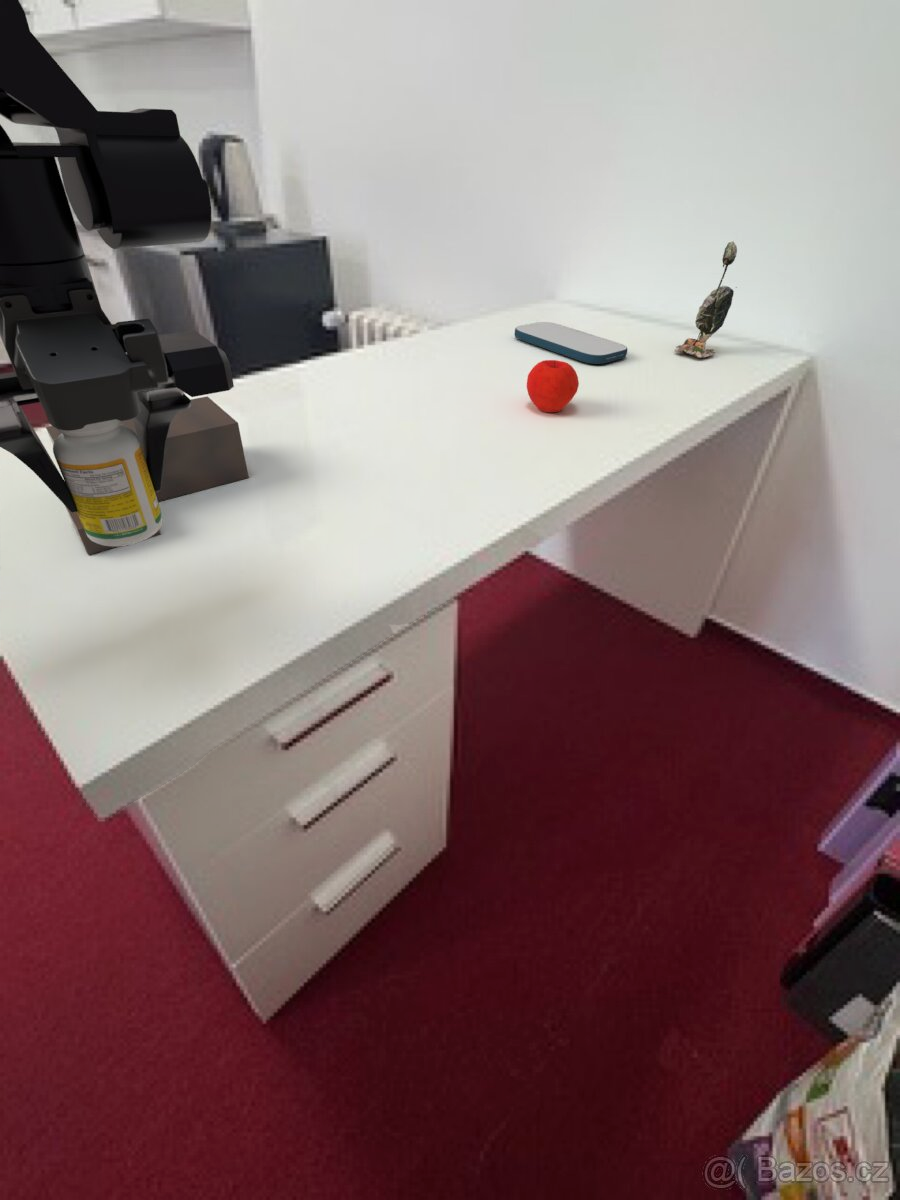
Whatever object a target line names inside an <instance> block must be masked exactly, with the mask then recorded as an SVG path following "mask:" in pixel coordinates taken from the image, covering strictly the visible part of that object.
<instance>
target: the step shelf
mask: <svg viewBox="0 0 900 1200" xmlns="http://www.w3.org/2000/svg"><path fill="white" fill-rule="evenodd" d="M190 400H191V406H190V408H188V409H186V410H181V411H179V412H178V413H177V414H176V416H175V417H174V419H173V420H172V422H171V424H170V427H169V431H168V435H167V439H166V444H165V453H164V463H163V473H162V483H161V490H160V491H158V492H155V494H156V497H157V501H158V503H159V502H164V501H166V500H170V499H175V498H178V497H183V496H185V495H189V494H193V493H197V492H201V491H205V490H209V489H211V488H215V487H219V486H223V485H226V484H230V483H235V482H237V481H241V480H246V479H249V478H250V476H249V471H248V467H247V461H246V457H245V452H244V446H243V445H244V444H243V441H242V436H241V431H240V426H239V422H238V421H236V419H235V418H233V417H232V416H231V415H230V414H228V412H227V411H225V410H224V409H223V408H222V407H221V406H219V404H217V403H216V402H215V401H214V400H213V399H211V398H210V397H209V396H208V395H207V396H201V397H196V398H191V399H190ZM120 424H121V425H124V426H126V427H128V428H130V429H131V430H133V431H134V432H135V433H136V428H135V424H134V419H130V420H125V421H121V423H120ZM45 429H46V431H47V434H48V437H49V439H50V442H51V443H52V445H53V444H54V442H55V440H56V438H57V437H58V436H59V435H60V434H62V433H60V432H59V431H58V430H57V429H56V428H55V427H53V426H52V425H48V426H45ZM136 435H137V433H136ZM64 507H65V509H66V512H67V514H68V517H69V518H70V521H71V523H72V526H73V527H74V530H75V532H76V534H77V536H78V538H79V540H80V542H81V544H82V546H83V548H84V550H85V552H86V554H87V555H88V556H90V555H93V554H97V553H101V552H105V551H107V550H108V551H109V550H111V549H114V548H118V547H119V546H104V545H100V544H97V543H95V542H93V541H91V540H90V539H89V538H88V536H87V534H86V532H85V530H84V527H83V525H82V522H81V520H80V518H79V515H78V513H77V512H75V513H72V512H71V511H70V510H69V509H68V508H67V507H66V506H65V505H64ZM158 535H161V530H160V529H159V530H158V531H157V532H156V533H155V534H154V535H152V536H151V537H150V538H152V537H155V536H158Z"/></svg>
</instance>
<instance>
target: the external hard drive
mask: <svg viewBox="0 0 900 1200" xmlns="http://www.w3.org/2000/svg"><path fill="white" fill-rule="evenodd" d="M514 337H515V338H516V339H518V340H520V341H522V342H525V343H528V344H531V345H534V346H537V347H540V348H543V349H545V350H548V351H551V352H553V353H557V354H559V355H562V356H565V357H567V358H571V359H574V360H577V361H580V362H582V363H586V364H592V365H602V364H607V363H611V362H615V361H619V360H623V359H624V358H626V357H627V354H628V347H627V346H626V345H625V344H622V343H620V342H616V341H614V340H610V339H608V338H604V337H601V336H598V335H594V334H592V333H588V332H585V331H582V330H578V329H575V328H573V327H569V326H565V325H564V324H563V325H562V324H560V323H555V322H550V321H537V322H533V323H529V324H528V323H527V324H522V325H518V326H516V327H515V328H514Z"/></svg>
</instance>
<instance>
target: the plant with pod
mask: <svg viewBox="0 0 900 1200" xmlns="http://www.w3.org/2000/svg"><path fill="white" fill-rule="evenodd" d="M737 254H738V248H737V245H736V243H735V242H734V240H733V241H730V242H728V243H727V244H726V246H725V247H724V251H723V254H722V259H721V261H722V268H724V270H723V272H722V276H721V278H720V281H719V284H718V286H717V288H715V289H713V290H712V291H711V292H710V293H709V294H708V295H707V296H706V297H705V299H703V302H702V304H701V305H700V306H699V307H698V311H697V313H696V317H695V327H696V328H697V330H699V333H698V336H697V339H696V338H689V337H688V338H687V339H685V341H684V342H683V343H682V344H679V345H677V346H676V347H675V349H674V352H676V353H677V352H682V351H684V353H686V354H688V355H691V356H693V357H694V358H696V359H697V358H701V359H702V358H707V357H709V356H713V357H714V355H715V354H716V353H715V352H714V351H715V349H714V348H708V349H707V348H706V345H707V342H708V340H709V339H710V338H711V337H712V336H713V335H714V334H715V333H717V332H718V331H719V330H720V329H721V328H722V327H723V325H724V324H725V323H724V322H725V321H726V318H727V316H728V313H729V310H730V309H731V307H732V303H733V297H734V292H735V290H733V288H731V287H730V286H727V285H722V283H723V280H724V278H725V275H726V272H727V270H728V268H729V266H730V265H732V264H733V263H734V262H735V260H736V257H737ZM721 285H722V286H721ZM737 288H738V287H737V286H735V289H737Z"/></svg>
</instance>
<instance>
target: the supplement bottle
mask: <svg viewBox="0 0 900 1200" xmlns="http://www.w3.org/2000/svg"><path fill="white" fill-rule="evenodd" d="M120 423H121V421H119V420H117V419H115V420H110V421H104V422H99V423H94V424H89V425H86V426H84V428H82V429H78V430H71V431H65V430H60V429H57V428H56V429H57V430H58V431H59V432H60V433H62V434H60V435H59V436H58V437H57V438H56V440H55V442H54V444H52V453H53V456H54V459H55V461H56V464H57V466H58V468H59V472H60V474H61V476H62V478H63V479H64V481H65V483H66V486H67V488H68V489H69V491H70V493H71V495H72V497H73V500H74V502H75V505H76V507H77V510H78V512H77V513H78V515H79V518H80V520H81V522H82V525H83V527H84V530H85V532H86V534H87V536H88V538H89V539H90V540H91V541H93V542H95V543H97V544H100V545H104V546H118V547H125V546H129V545H130V546H131V545H134V544H137V543H140V542H143V541H145V540H148V539H149V538H152V537H153V536H152V535H154V534H155V533H156V532H157V531H158V530H160V529H161V527H162V524H163V515H162V511H161V508H160V504H159V502H158V501H157V497H156V494H155V490H154V487H153V484H152V480H151V477H150V474H149V471H148V467H147V464H146V461H145V457H144V454H143V451H142V447H141V444H140V441H139V438H138V436H137V435H136V433H135V432H134V431H133V430H131V429H130V428H128V427H126V426H124V425H121V424H120ZM151 536H152V537H151Z"/></svg>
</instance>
